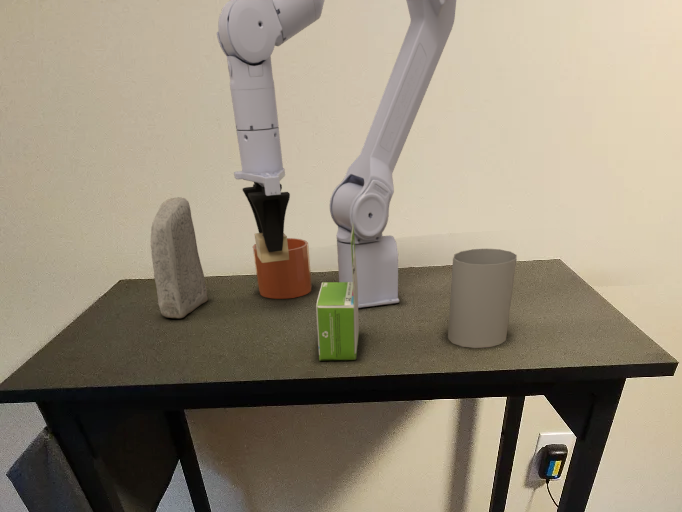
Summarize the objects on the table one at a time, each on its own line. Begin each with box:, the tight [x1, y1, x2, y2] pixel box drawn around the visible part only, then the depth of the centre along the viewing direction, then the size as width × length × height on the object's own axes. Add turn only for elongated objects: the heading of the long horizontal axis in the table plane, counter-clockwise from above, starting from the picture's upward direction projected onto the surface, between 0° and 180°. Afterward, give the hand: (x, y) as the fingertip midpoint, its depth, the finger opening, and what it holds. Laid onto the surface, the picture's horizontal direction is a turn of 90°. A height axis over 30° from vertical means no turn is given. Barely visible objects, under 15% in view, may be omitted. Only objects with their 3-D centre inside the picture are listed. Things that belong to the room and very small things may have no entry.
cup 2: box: [447, 248, 518, 349], centre depth 81 cm, size 8×8×10 cm
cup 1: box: [252, 237, 313, 300], centre depth 102 cm, size 9×9×7 cm
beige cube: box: [254, 232, 289, 263], centre depth 88 cm, size 4×4×3 cm
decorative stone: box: [150, 196, 209, 319], centre depth 94 cm, size 11×6×15 cm, turn 168°
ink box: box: [315, 224, 360, 362], centre depth 79 cm, size 10×5×14 cm, turn 178°
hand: (272, 247), depth 89 cm, fingers closed on beige cube, 4 cm apart
